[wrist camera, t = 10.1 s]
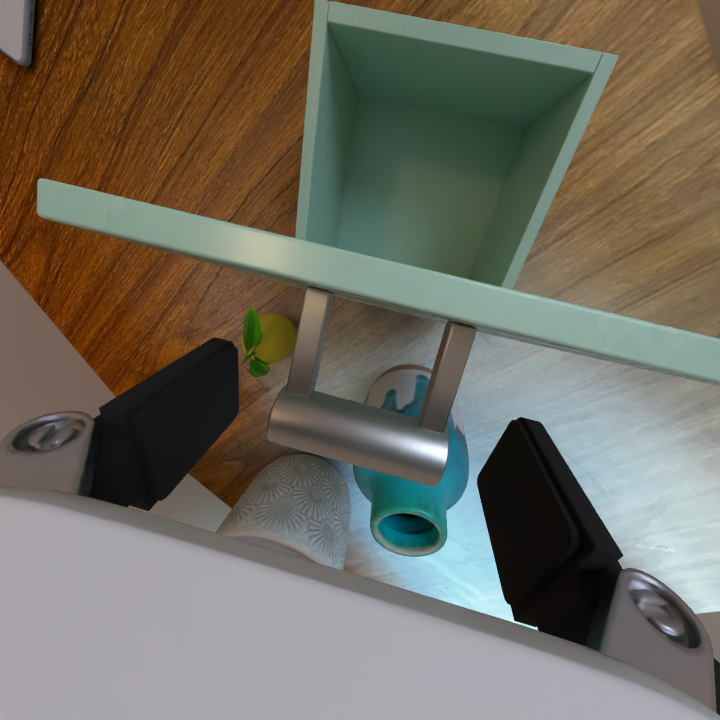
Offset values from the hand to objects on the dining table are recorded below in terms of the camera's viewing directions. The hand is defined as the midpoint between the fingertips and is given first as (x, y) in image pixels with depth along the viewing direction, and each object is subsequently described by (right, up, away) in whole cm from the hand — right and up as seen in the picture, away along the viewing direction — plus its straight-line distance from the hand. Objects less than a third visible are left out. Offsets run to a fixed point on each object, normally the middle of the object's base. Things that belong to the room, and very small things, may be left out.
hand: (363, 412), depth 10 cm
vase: (+6, -2, +27) cm, 28 cm away
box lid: (+1, +5, +3) cm, 6 cm away
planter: (-8, -17, +38) cm, 42 cm away
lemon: (-10, +6, +26) cm, 28 cm away
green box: (+5, +17, +18) cm, 25 cm away
